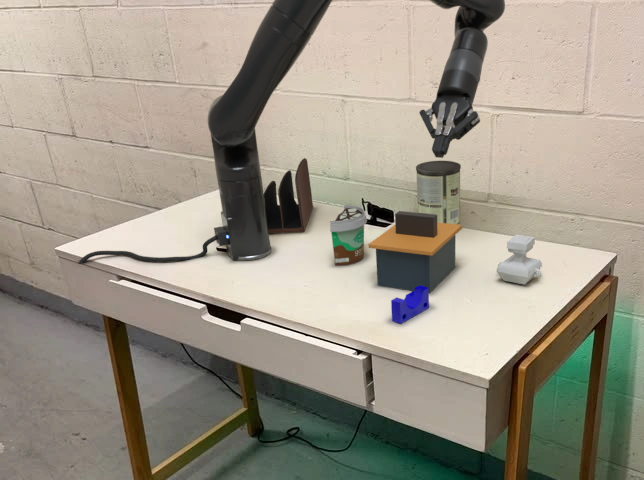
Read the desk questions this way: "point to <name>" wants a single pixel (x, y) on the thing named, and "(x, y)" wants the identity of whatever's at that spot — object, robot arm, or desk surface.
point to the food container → (348, 235)
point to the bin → (414, 267)
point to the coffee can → (439, 190)
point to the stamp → (519, 261)
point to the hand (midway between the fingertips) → (438, 155)
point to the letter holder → (289, 202)
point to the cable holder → (410, 304)
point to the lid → (415, 234)
